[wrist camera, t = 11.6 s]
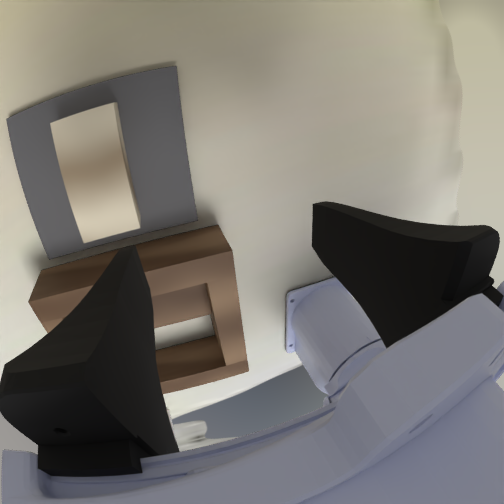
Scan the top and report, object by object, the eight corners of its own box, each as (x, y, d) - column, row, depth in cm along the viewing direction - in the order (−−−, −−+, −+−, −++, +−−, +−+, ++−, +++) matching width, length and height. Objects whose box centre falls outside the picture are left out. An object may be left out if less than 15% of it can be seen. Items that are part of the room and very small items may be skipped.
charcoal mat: (196, 217, 21) (198, 220, 21) (51, 255, 18) (49, 259, 18) (175, 66, 15) (176, 65, 15) (9, 117, 12) (6, 118, 12)
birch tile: (140, 215, 19) (140, 227, 17) (88, 229, 18) (83, 243, 16) (117, 102, 15) (113, 102, 13) (59, 120, 14) (49, 123, 12)
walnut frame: (236, 342, 29) (249, 371, 26) (103, 374, 26) (104, 404, 23) (217, 224, 22) (232, 250, 19) (41, 270, 18) (28, 302, 15)
